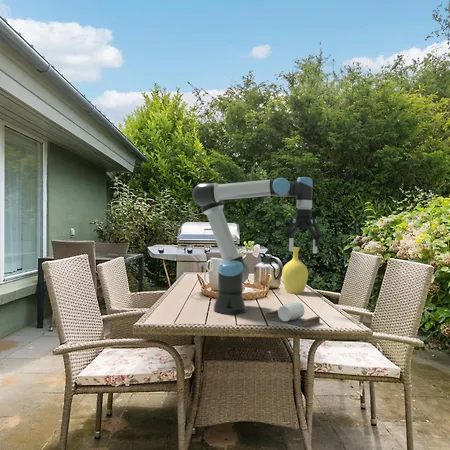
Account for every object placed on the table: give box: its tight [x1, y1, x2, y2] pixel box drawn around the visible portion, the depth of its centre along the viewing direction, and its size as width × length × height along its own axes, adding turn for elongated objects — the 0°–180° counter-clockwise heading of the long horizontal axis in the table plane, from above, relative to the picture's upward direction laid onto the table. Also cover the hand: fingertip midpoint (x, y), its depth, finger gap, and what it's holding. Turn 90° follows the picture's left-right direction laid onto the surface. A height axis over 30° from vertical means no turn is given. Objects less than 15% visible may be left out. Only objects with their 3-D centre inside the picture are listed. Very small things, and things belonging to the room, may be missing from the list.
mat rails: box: [265, 309, 321, 327], centre depth 179 cm, size 20×12×2 cm, turn 47°
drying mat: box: [265, 316, 321, 328], centre depth 179 cm, size 20×12×1 cm, turn 47°
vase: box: [281, 246, 309, 295], centre depth 254 cm, size 16×16×28 cm
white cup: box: [277, 300, 305, 321], centre depth 178 cm, size 8×8×10 cm
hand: (302, 252), depth 200 cm, fingers open, 13 cm apart
